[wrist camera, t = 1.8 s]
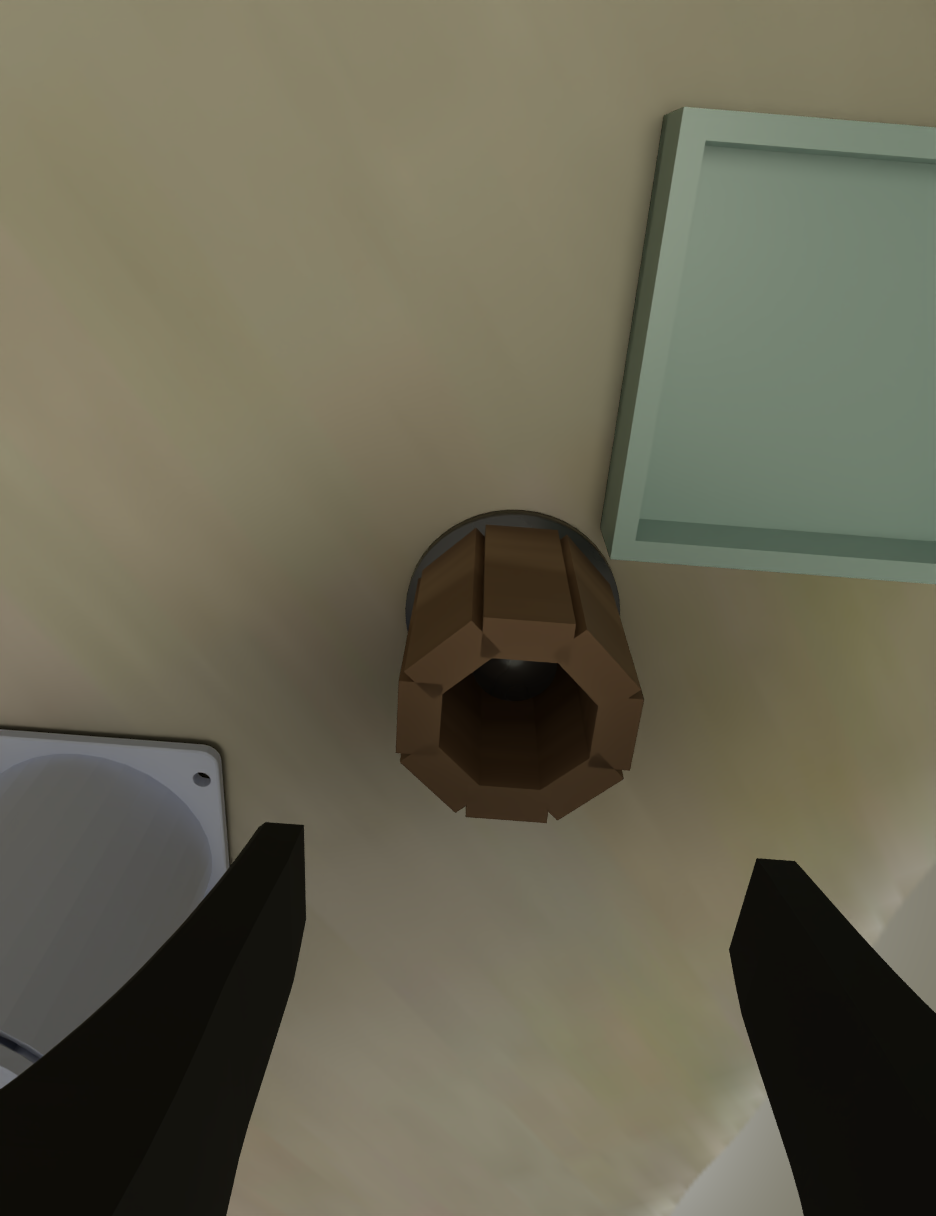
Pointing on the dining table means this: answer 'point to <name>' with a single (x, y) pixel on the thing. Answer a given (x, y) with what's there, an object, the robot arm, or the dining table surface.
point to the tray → (782, 352)
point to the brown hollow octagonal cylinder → (517, 630)
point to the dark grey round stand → (505, 674)
